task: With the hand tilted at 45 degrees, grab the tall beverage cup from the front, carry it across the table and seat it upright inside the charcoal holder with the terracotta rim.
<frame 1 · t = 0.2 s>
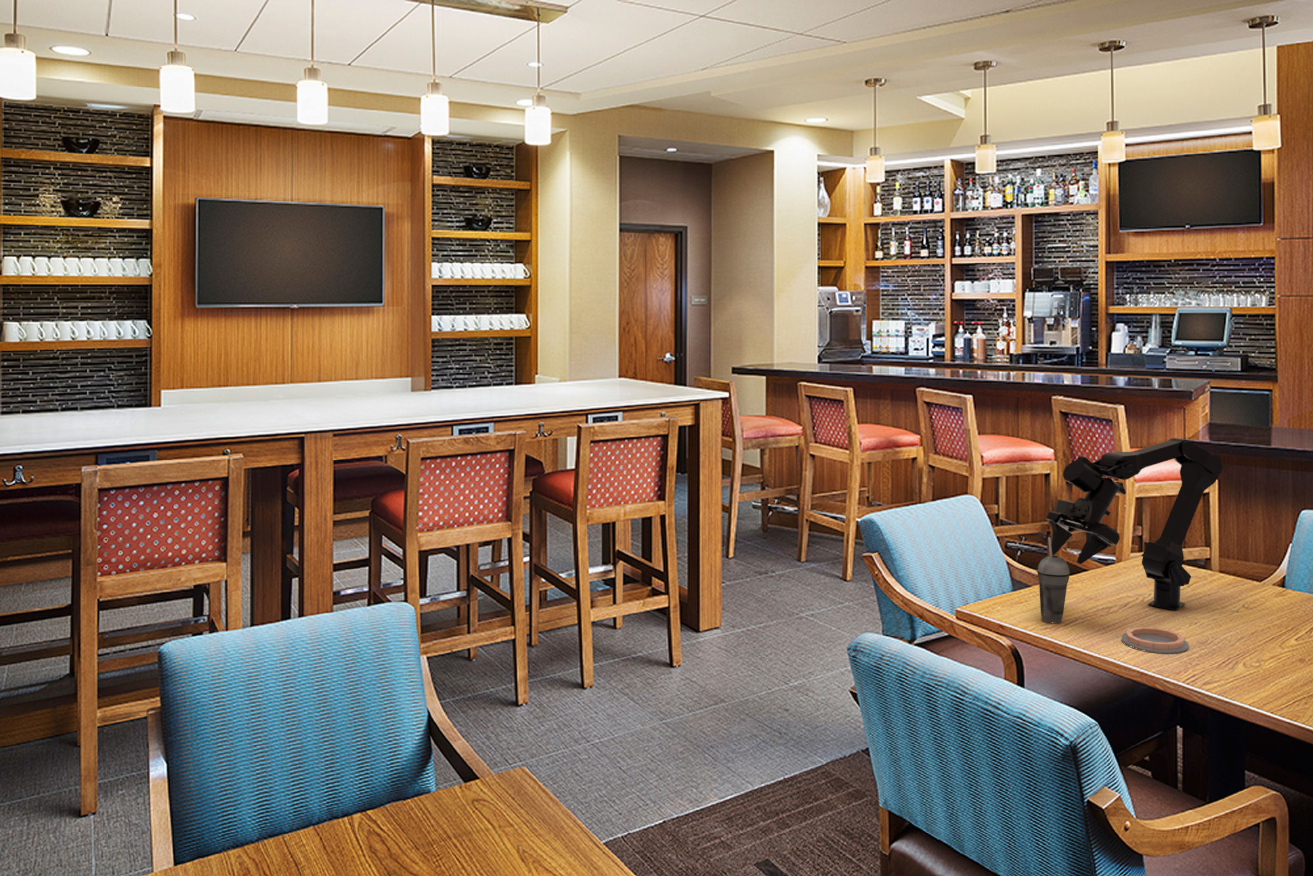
hand: (1064, 558, 223), 15 cm above the table, tool tilted 35°, fingers open, 9 cm apart
beverage cup: (1051, 621, 224), on the table
cup holder: (1154, 643, 207), on the table
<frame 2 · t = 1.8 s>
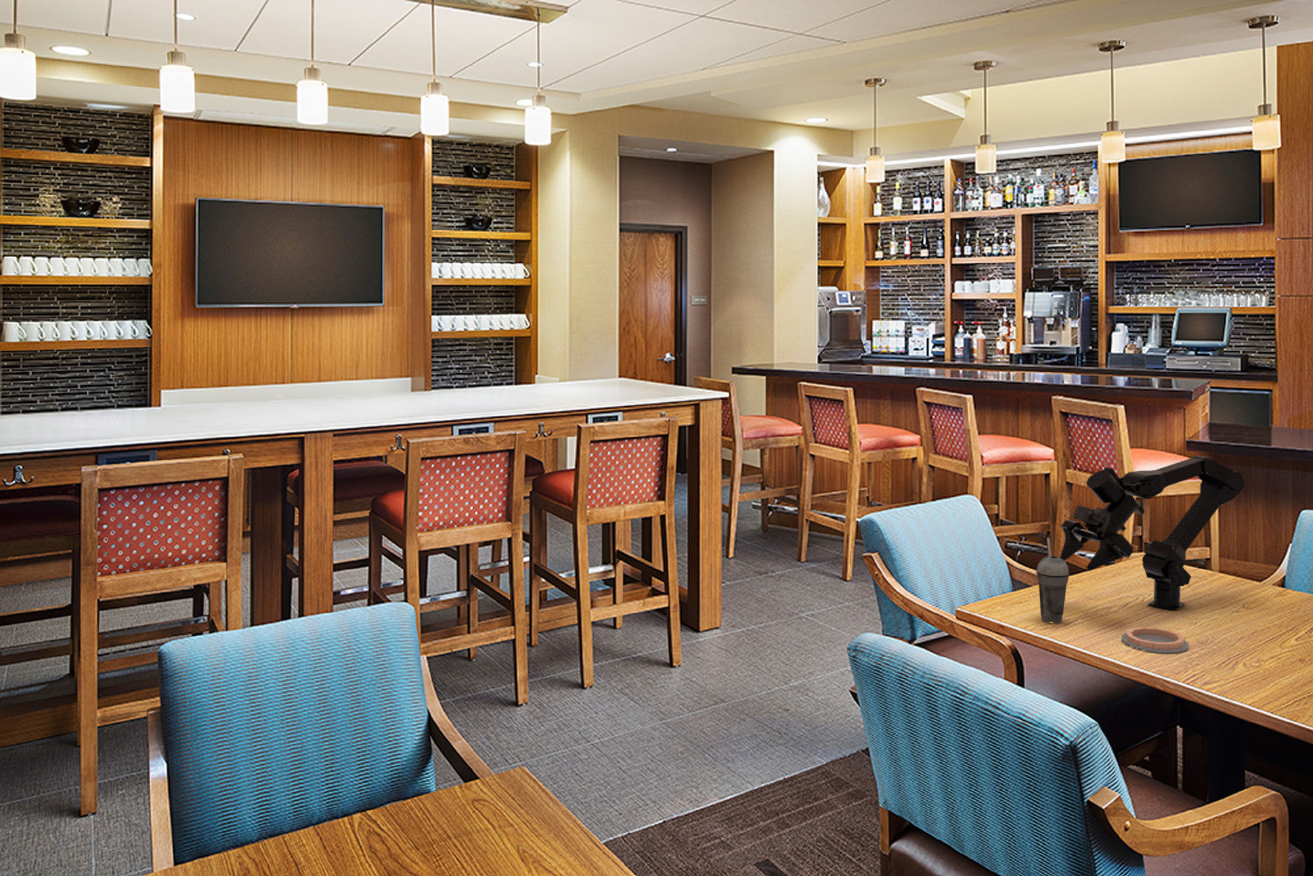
hand: (1074, 564, 224), 13 cm above the table, tool tilted 45°, fingers open, 9 cm apart
nothing on the table moved.
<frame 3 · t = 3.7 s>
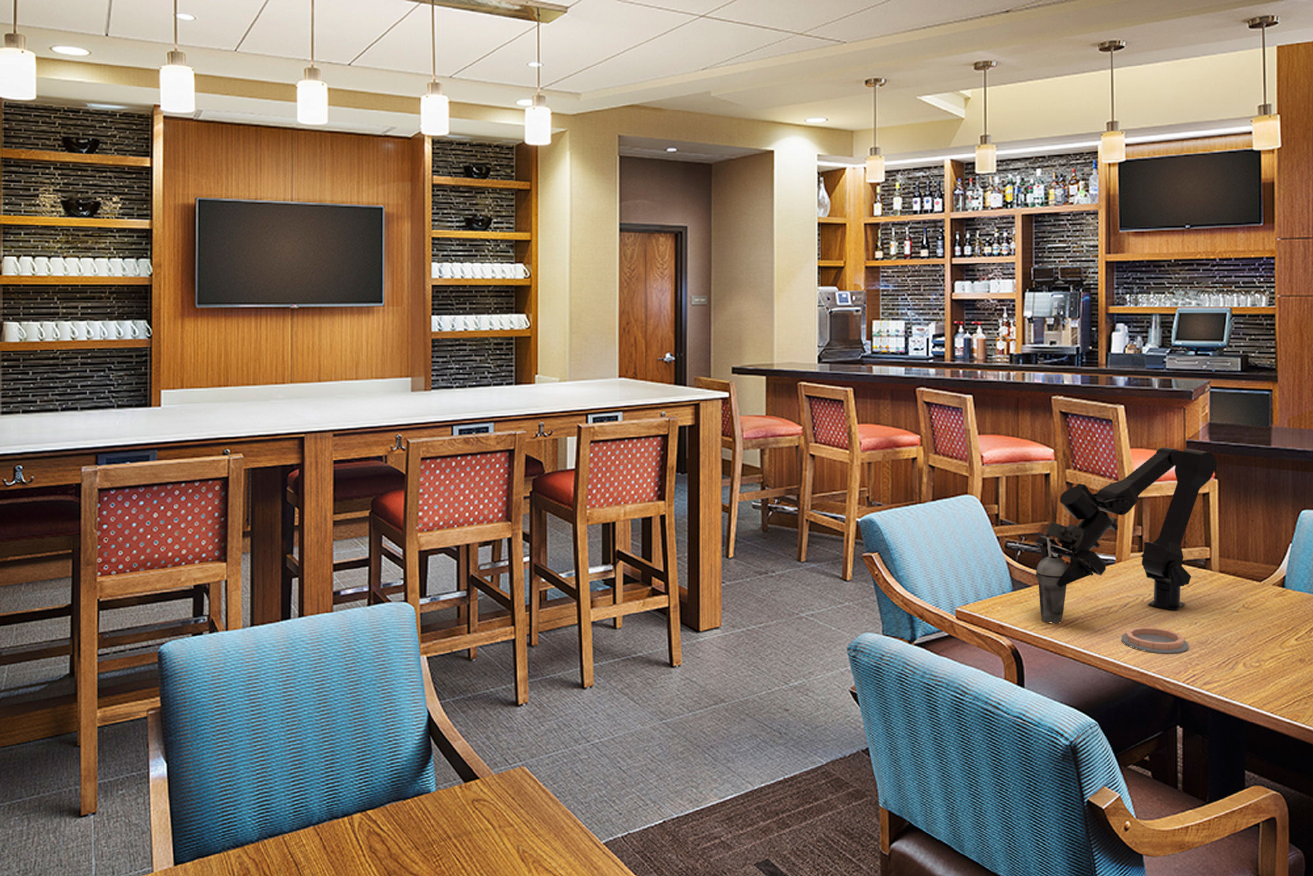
hand: (1047, 581, 223), 10 cm above the table, tool tilted 45°, fingers closed on beverage cup, 7 cm apart
beverage cup: (1051, 621, 224), on the table, touching gripper
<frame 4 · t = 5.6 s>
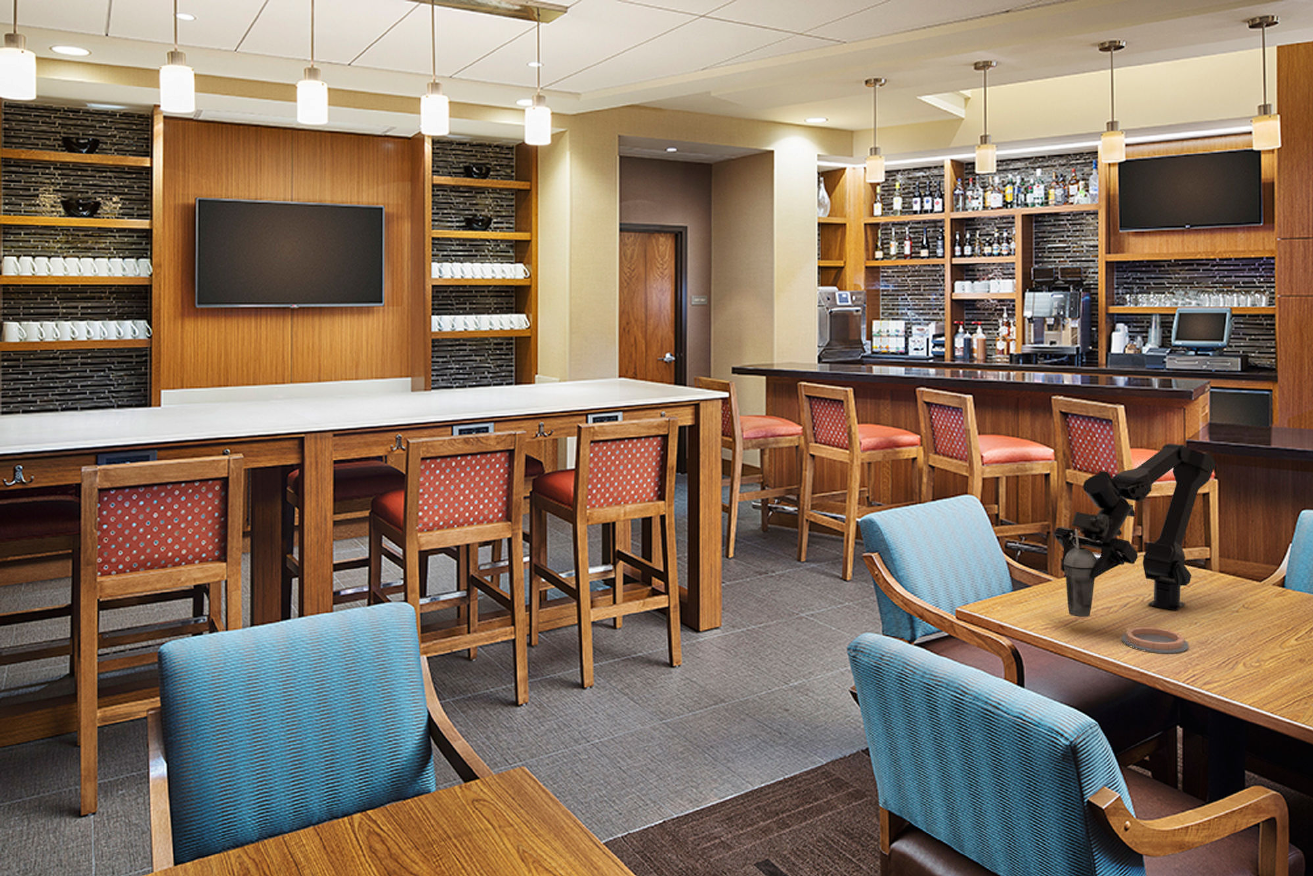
hand: (1076, 574, 215), 13 cm above the table, tool tilted 45°, fingers closed on beverage cup, 7 cm apart
beverage cup: (1079, 614, 217), point 3 cm above the table, touching gripper
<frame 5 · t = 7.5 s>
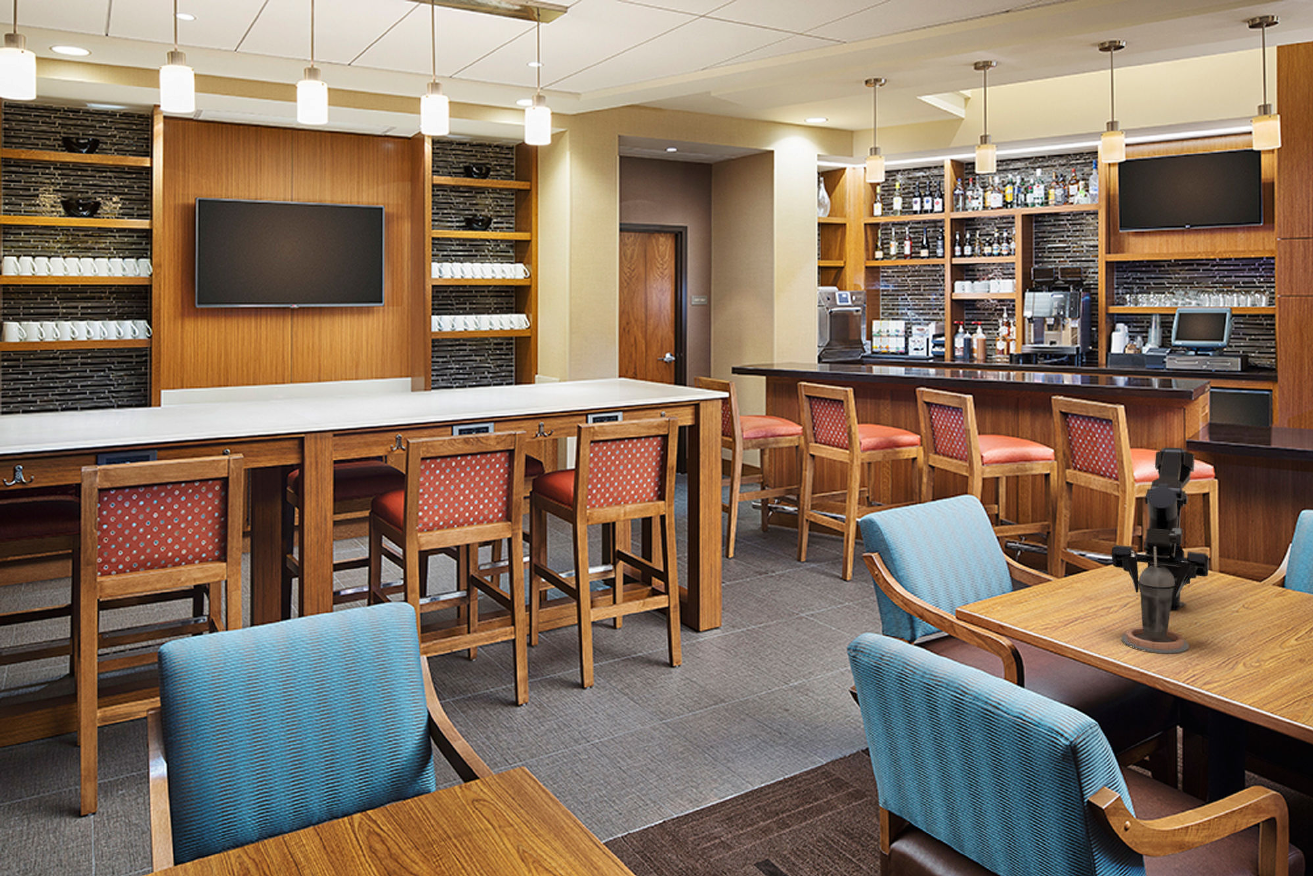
hand: (1155, 594, 205), 11 cm above the table, tool tilted 45°, fingers closed on beverage cup, 7 cm apart
beverage cup: (1154, 635, 207), point 2 cm above the table, touching gripper
when the fingers open (11 cm above the table, at t = 7.9 s): beverage cup drops 1 cm, resting on cup holder.
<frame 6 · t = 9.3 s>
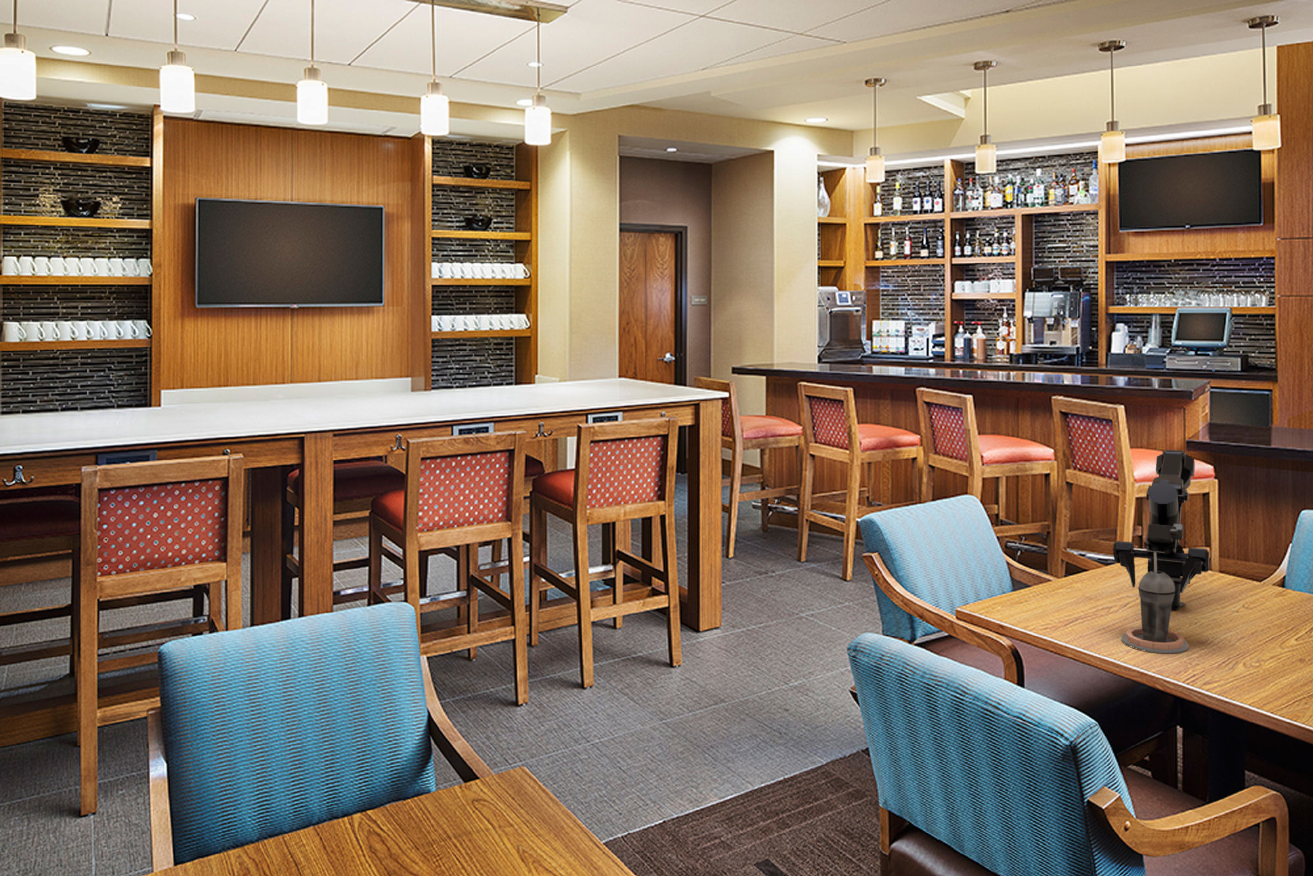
hand: (1156, 589, 207), 12 cm above the table, tool tilted 45°, fingers open, 9 cm apart
beverage cup: (1154, 641, 207), resting on cup holder
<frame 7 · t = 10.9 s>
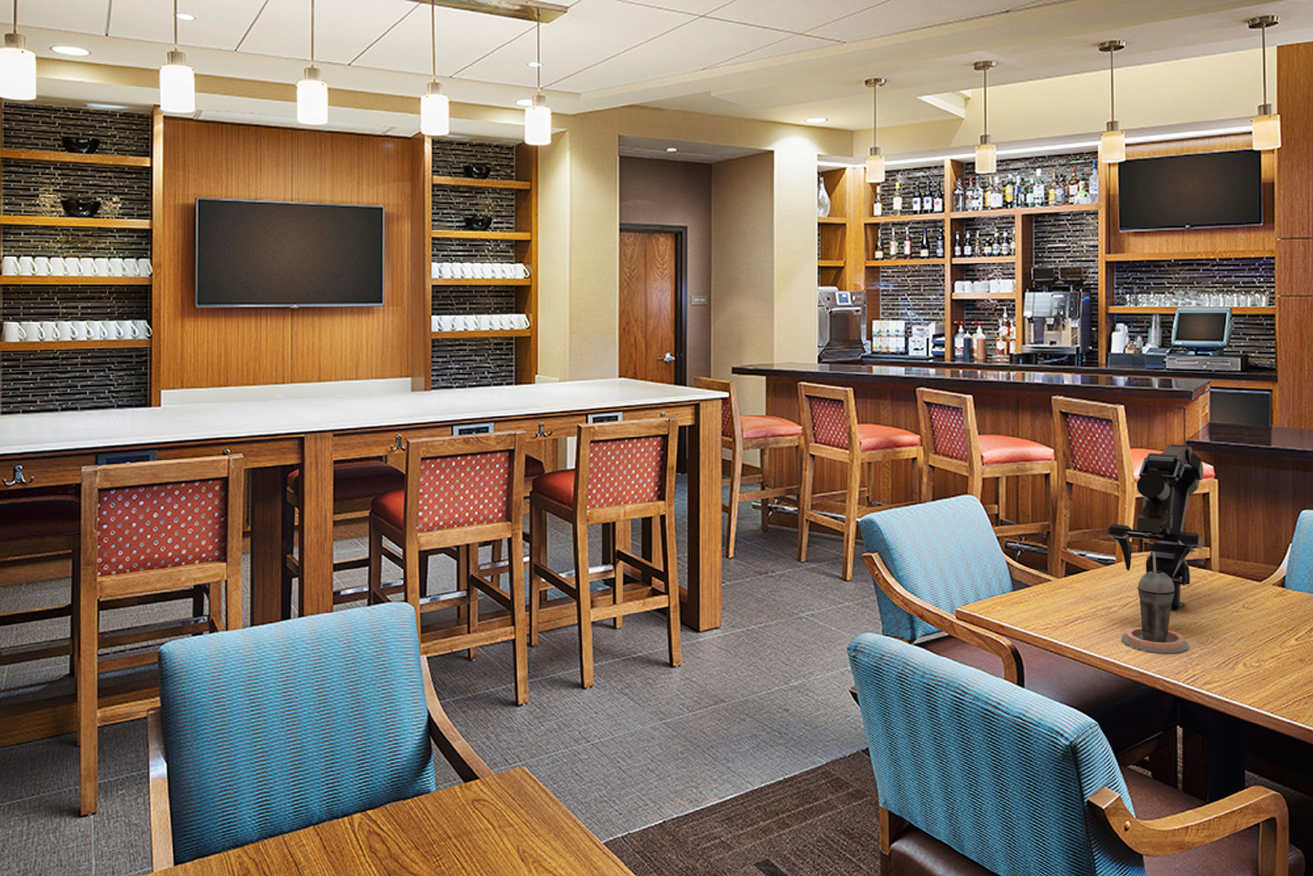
hand: (1149, 573, 216), 13 cm above the table, tool tilted 20°, fingers open, 9 cm apart
nothing on the table moved.
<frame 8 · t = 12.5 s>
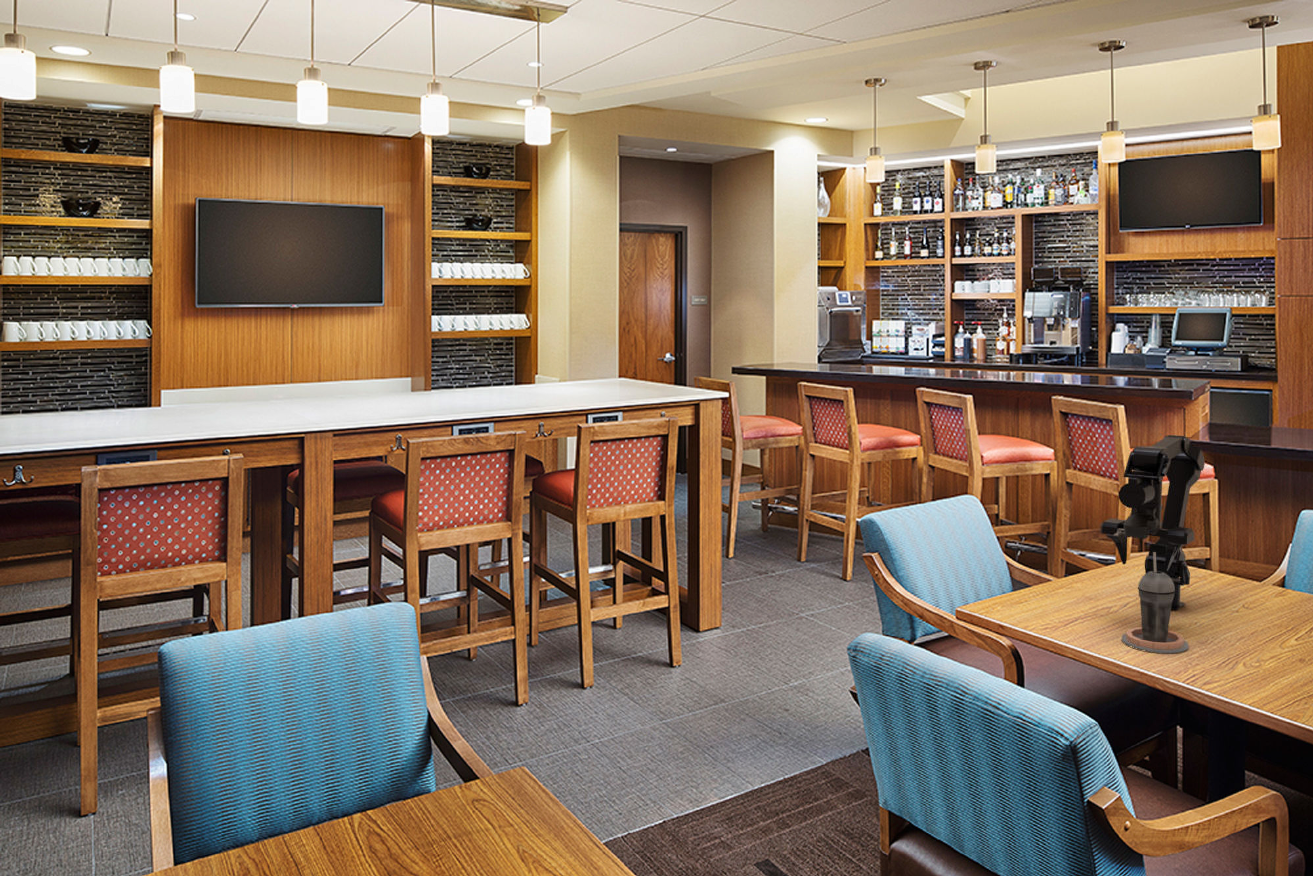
hand: (1145, 567, 220), 13 cm above the table, tool pointing down, fingers open, 9 cm apart
nothing on the table moved.
at the end: beverage cup 0.1 cm from the cup holder (horizontally); beverage cup tilted 0°; the gripper is holding nothing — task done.
